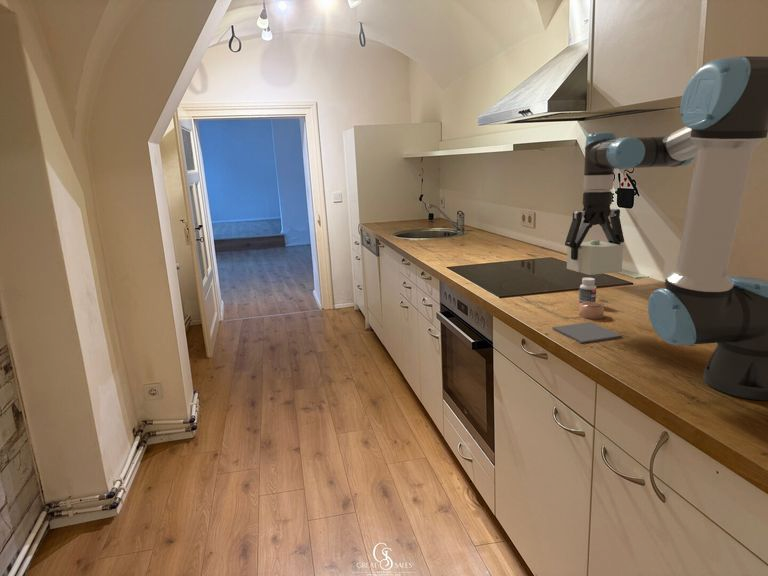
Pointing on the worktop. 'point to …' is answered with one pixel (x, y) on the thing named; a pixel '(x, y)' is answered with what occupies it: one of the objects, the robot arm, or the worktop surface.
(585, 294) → the pill bottle
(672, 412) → the worktop surface
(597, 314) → the bowl
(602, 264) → the cover
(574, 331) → the mat
